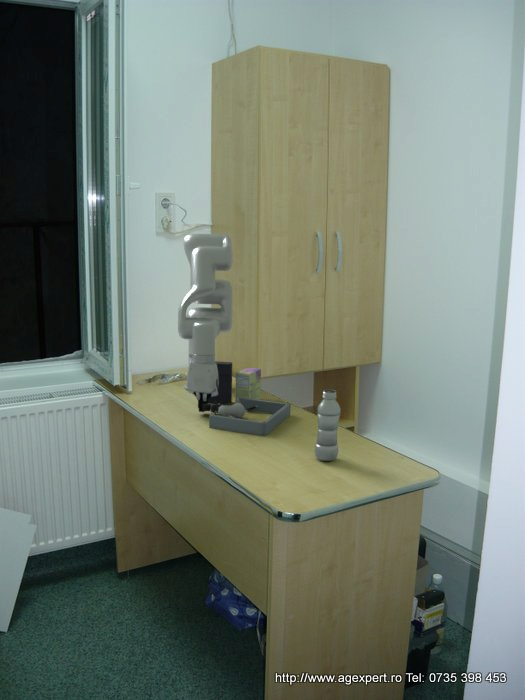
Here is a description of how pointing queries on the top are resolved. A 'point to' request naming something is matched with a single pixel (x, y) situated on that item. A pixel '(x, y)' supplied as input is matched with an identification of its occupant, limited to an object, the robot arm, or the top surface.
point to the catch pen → (249, 426)
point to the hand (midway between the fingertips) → (202, 410)
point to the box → (248, 384)
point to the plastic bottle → (327, 427)
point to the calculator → (223, 384)
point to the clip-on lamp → (227, 409)
